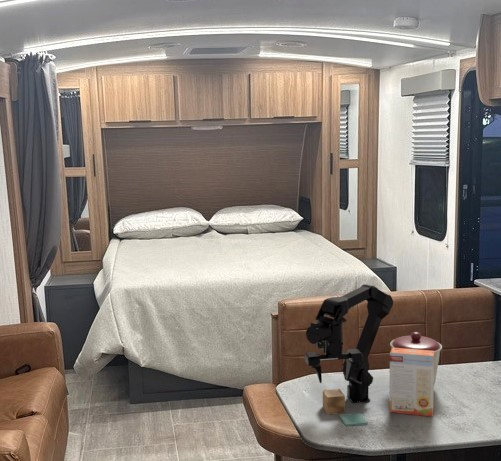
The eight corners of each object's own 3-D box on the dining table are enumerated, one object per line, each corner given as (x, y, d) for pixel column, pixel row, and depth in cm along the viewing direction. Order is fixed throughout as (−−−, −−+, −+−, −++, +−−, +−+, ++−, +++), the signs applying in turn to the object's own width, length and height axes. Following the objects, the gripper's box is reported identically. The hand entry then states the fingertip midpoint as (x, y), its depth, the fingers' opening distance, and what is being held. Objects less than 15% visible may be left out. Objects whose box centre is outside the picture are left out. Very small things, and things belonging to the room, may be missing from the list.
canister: (392, 397, 220) (393, 339, 217) (387, 378, 238) (387, 324, 235) (445, 399, 218) (446, 340, 215) (436, 379, 235) (437, 325, 232)
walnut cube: (339, 405, 214) (339, 388, 213) (344, 413, 208) (344, 395, 208) (322, 407, 213) (322, 390, 213) (327, 414, 208) (327, 397, 207)
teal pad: (360, 414, 207) (360, 412, 207) (367, 424, 200) (367, 422, 200) (339, 416, 206) (339, 414, 206) (345, 426, 199) (345, 424, 199)
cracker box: (433, 410, 209) (435, 350, 206) (432, 417, 204) (434, 356, 201) (390, 405, 214) (391, 346, 211) (388, 412, 208) (389, 352, 205)
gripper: (353, 327, 217) (353, 370, 219) (300, 331, 214) (301, 375, 216) (363, 337, 206) (363, 382, 208) (308, 341, 203) (308, 387, 205)
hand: (333, 381), depth 210 cm, fingers open, 9 cm apart
